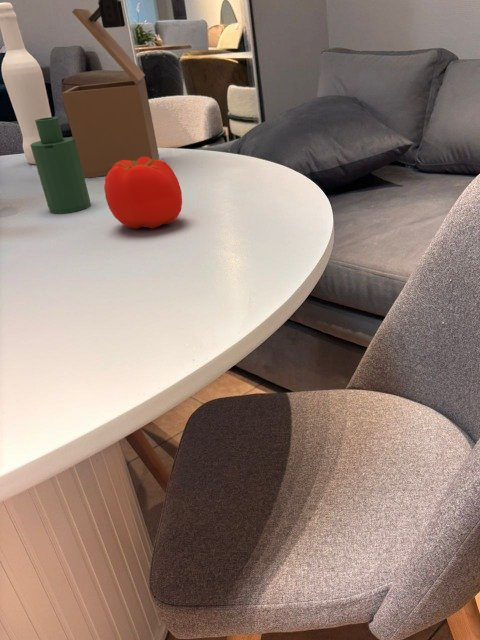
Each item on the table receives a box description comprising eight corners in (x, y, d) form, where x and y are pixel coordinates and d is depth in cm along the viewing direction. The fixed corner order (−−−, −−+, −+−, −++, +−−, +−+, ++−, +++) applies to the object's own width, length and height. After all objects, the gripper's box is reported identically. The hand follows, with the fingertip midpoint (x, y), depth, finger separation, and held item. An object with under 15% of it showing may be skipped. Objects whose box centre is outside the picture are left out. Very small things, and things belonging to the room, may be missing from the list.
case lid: (71, 11, 108) (93, -13, 107) (85, 12, 120) (104, -10, 118) (136, 83, 115) (157, 62, 113) (142, 78, 126) (161, 58, 125)
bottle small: (45, 215, 99) (19, 124, 92) (54, 205, 104) (29, 118, 98) (87, 210, 99) (64, 119, 92) (93, 200, 105) (72, 113, 98)
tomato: (168, 237, 83) (154, 168, 79) (96, 236, 86) (79, 169, 82) (201, 214, 92) (191, 150, 87) (135, 214, 95) (121, 152, 90)
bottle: (64, 155, 146) (24, 1, 131) (65, 161, 139) (23, 0, 124) (28, 160, 144) (-17, 5, 129) (26, 166, 138) (-21, 3, 122)
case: (83, 178, 122) (61, 93, 114) (94, 164, 133) (75, 86, 125) (154, 170, 122) (138, 85, 115) (159, 157, 134) (144, 79, 126)
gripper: (76, -90, 113) (100, 28, 123) (57, -106, 99) (86, 29, 108) (119, -93, 114) (139, 25, 123) (106, -110, 99) (130, 25, 109)
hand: (114, 26), depth 115 cm, fingers closed on case lid, 5 cm apart
